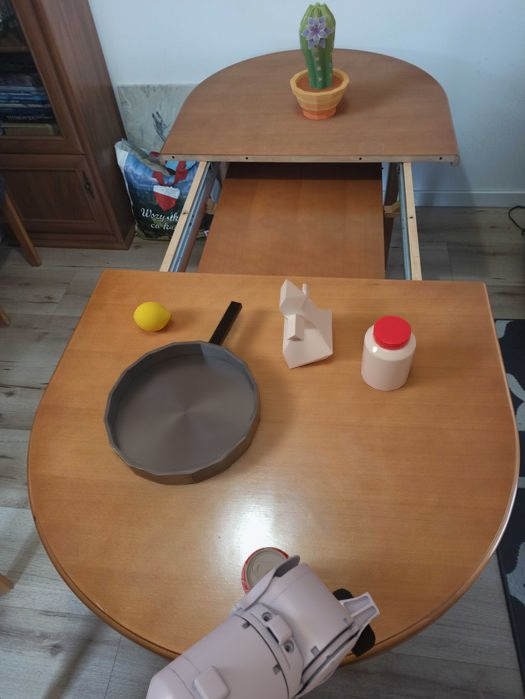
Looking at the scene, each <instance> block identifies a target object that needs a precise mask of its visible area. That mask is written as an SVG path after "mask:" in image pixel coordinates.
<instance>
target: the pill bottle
mask: <svg viewBox="0 0 525 699" xmlns="http://www.w3.org/2000/svg"><path fill="white" fill-rule="evenodd" d="M416 348H417V338H416V336H415V333H414V332H413V331H412V327H411V325H410V323H409V322H408V321H407V320H406V319H405V318H403V317H400V316H397V315H385V316H382V317H380V318H378V319H377V320H376V321H375V323H374V324H373V325H371V326H370V327H369V328H368V329H367V331H366V332H365V335H364V340H363V347H362V355H361V362H360V369H359V370H360V375H361V378H362V379H363V381H364V383H365V384H367V385H368V386H369V387H371V388H372V389H375V390H376V391H380V392H381V391H382V392H390V391H395V390H397V389H400V388H402V387H403V386H404V385H405V383H406V382H407V381H408V377H409V374H410V370H411V367H412V364H413V360H414V359H413V358H414V355H415V352H416Z"/></svg>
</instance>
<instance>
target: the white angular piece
mask: <svg viewBox="0 0 525 699" xmlns="http://www.w3.org/2000/svg"><path fill="white" fill-rule="evenodd" d="M278 308H279V309H278V310H279V313H280V314H281V315H282V316H283V317H284V322H283V338H282V339H283V340H282V355H283V357H284V360H285V362H286V365H287V366H288V369H294V368H298V367H301V366H305V365H309V364H312V363H316V362H319V361H323V360H326V359H327V358H329V357H330V356H332V355H333V353H334V351H333V349H334V348H333V309H318V307H317V306H316V304H315V303H314V302H313V301H312V299H311V298H310V288H309V285H308V283H302V289H301V288H299V287H298V286H297V285H296V284H294V283H293V282H291V280H289V279H288V278H286V279H285V281H284V282H283V284H282V286H281V287H280V292H279V307H278Z"/></svg>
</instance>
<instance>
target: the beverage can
mask: <svg viewBox="0 0 525 699" xmlns="http://www.w3.org/2000/svg"><path fill="white" fill-rule="evenodd" d="M290 557H291V556H290V555H289V554H288V552H286V551H284V550H282V549H281V548H278V547H273V546H266V547H261V548H258V549H257V550H255V551H254V552H252V553H251V554H250V555H249V556H248V557H247V558H246V559H245V561H244V564H243V566H242V569H241V574H240V576H241V578H240V580H241V581H240V582H241V586H242V589H243V591H244V594H245V595H246V594H248V593H249V592H250V590H251V589H252V588H253V587H254V586H255V585H256V584H257V583H258V582H259V581H260V580H261V579H262V578H263V577H264V576H265V575H266V574H267V573H268V572H269V571H271V570H272V569H273V568H275V567H276V566H277V565H279V564H280V563H282V562H283V561H285V560H286V559H288V558H290Z"/></svg>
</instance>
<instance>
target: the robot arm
mask: <svg viewBox="0 0 525 699" xmlns="http://www.w3.org/2000/svg"><path fill="white" fill-rule="evenodd" d="M300 562H301V556H300V554H295V555H292V556H290V558H288V559H286V560H285V561H283V562H282V563H280V564H279V565H277V566H276V567H275V568H273V569H272V570H271V571H269V572H268V573H267V574H266V575H265V576H264V577H263V578H262V579H261V580H260V581H259V582H258V583H257V584H256V585H255V586H254V587H253V588H252V589H251V590H250V592H249V593H248V594H245V595H244V596H243V597H242V598H240V599H239V600H238V601H237V602H236V603H235V604H234V605H233V606H232V608H231V610H230V612H229V616H228V617H227V618H226V619H225V620H224V621H222V622H221V623H220V624H218V625H217V626H216V627H215V628H213V629H211V631H210V632H209V633H207V634H206V635H205V636H203V637H202V638H200V639H199V640H198V641H197V642H195V643H194V644H193V645H191V646H190V647H189V648H187V649H186V650H185V651H184V652H183V653H181V654H180V655H178V656H177V657H176V658H174V659H173V660H172V661H171V662H169V663H168V664H167V665H166V666H164V667H163V668H162V669H160V670H159V671H158V672H156V673H155V674H154V675H153V676H152V678H151V680H150V682H149V686H148V688H147V693H146V697H145V699H299V698H300V697H303V696H304V695H306V694H307V693H309V692H311V691H313V690H314V689H315V688H317V687H318V686H320V685H322V684H323V683H325V682H326V681H327V680H329V679H330V677H331V676H332V675H333V674H334V673H335V671H336V669H337V668H338V667H339V665H340V664H341V662H342V661H343V659H345V657H347V655H348V654H349V653H350V652H351V653H352V654H353V655H354V657H355V658H356V659H358V658H359V657H361V656H362V655H364V654H366V653H367V652H369V651H371V650H372V649H373V648H374V646H375V644H376V634H375V632H374V630H373V628H372V626H371V625H370V623H371V622H372V621H374V620H375V619H377V618H378V617H379V616H380V615H381V610H380V609H379V608H378V606H377V604H376V602H375V601H374V599H373V598H372V596H371V594H370V592H368V591H366V592H365V593H363V594H361V595H359V596H356V597H354V595H353V594H352V593H351V591H350V590H348V589H347V588H343V587H341V588H338V589H335V590H334V591H331V590H330V589H329V588H328V587H327V586H326V584H325V583H324V582H323V581H322V579H321V578H320V577H319V576H318V575H317V573H316V572H315V571H314V570H313V569H312V568H311V566H310V565H309V563H307V562H302V563H300Z"/></svg>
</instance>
